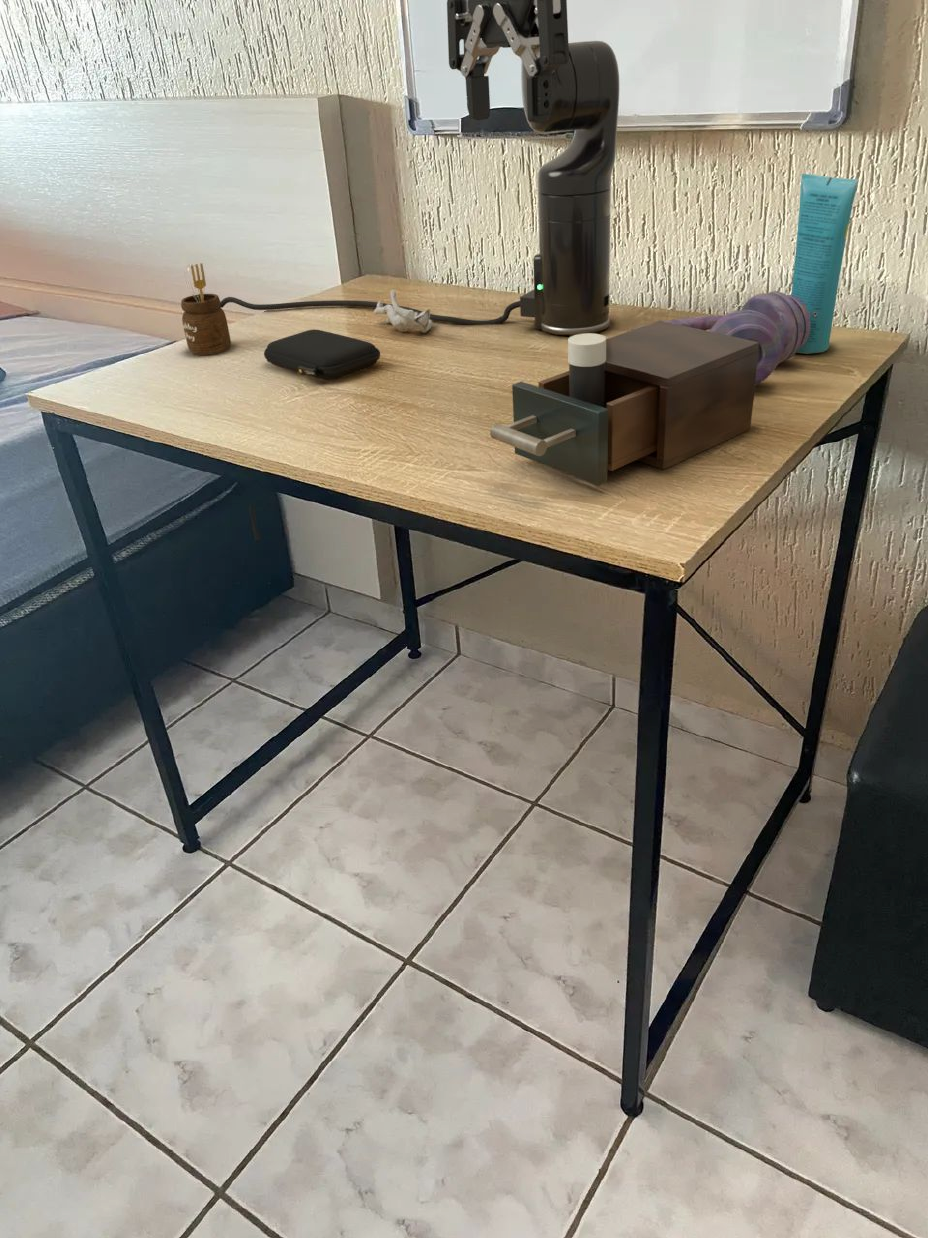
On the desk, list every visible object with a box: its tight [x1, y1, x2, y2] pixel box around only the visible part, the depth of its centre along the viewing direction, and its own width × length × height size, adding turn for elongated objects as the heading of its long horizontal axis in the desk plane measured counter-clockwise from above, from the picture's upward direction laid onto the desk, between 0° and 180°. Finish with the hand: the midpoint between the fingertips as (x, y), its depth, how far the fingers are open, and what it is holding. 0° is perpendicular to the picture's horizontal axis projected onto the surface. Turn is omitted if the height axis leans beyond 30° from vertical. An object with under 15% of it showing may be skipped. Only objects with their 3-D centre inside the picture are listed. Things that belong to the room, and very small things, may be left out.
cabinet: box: [605, 320, 759, 470], centre depth 93 cm, size 13×12×9 cm
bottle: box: [567, 333, 607, 408], centre depth 86 cm, size 3×3×10 cm
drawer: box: [489, 370, 660, 487], centre depth 88 cm, size 17×11×7 cm, turn 130°
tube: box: [791, 173, 860, 355], centre depth 109 cm, size 7×5×19 cm, turn 39°
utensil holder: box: [180, 262, 232, 356], centre depth 128 cm, size 6×6×12 cm
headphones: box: [631, 290, 811, 386], centre depth 109 cm, size 18×8×20 cm
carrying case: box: [263, 329, 381, 381], centre depth 121 cm, size 11×3×15 cm
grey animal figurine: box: [373, 289, 434, 334], centre depth 131 cm, size 8×5×12 cm
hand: (508, 120), depth 91 cm, fingers open, 8 cm apart
